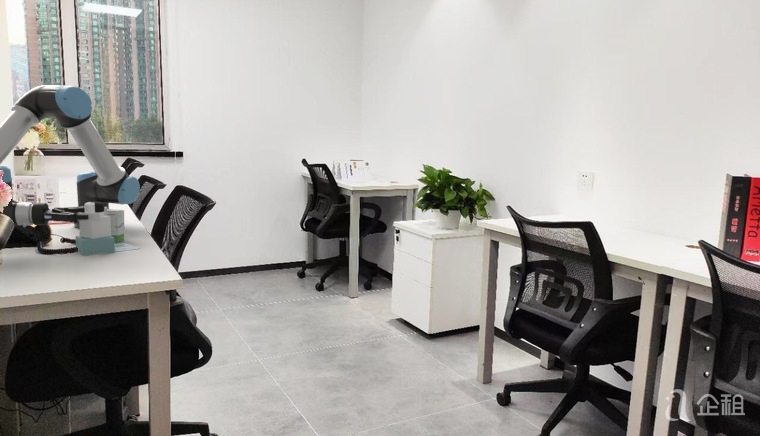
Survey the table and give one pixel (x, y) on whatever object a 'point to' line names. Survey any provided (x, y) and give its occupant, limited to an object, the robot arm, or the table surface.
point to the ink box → (117, 224)
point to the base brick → (95, 245)
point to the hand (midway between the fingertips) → (103, 213)
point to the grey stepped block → (95, 222)
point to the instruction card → (124, 247)
